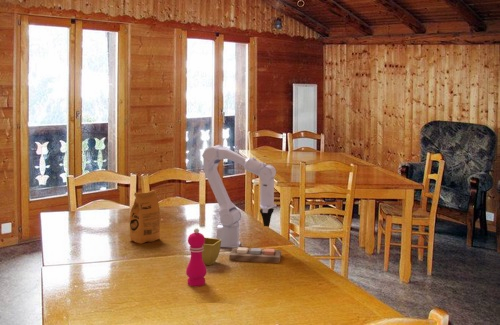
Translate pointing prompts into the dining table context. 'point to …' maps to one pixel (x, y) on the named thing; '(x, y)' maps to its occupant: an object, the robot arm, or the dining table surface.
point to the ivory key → (242, 250)
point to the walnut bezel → (255, 256)
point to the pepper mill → (196, 260)
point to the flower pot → (211, 250)
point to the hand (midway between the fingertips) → (266, 225)
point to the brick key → (269, 252)
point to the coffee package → (145, 218)
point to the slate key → (255, 251)
